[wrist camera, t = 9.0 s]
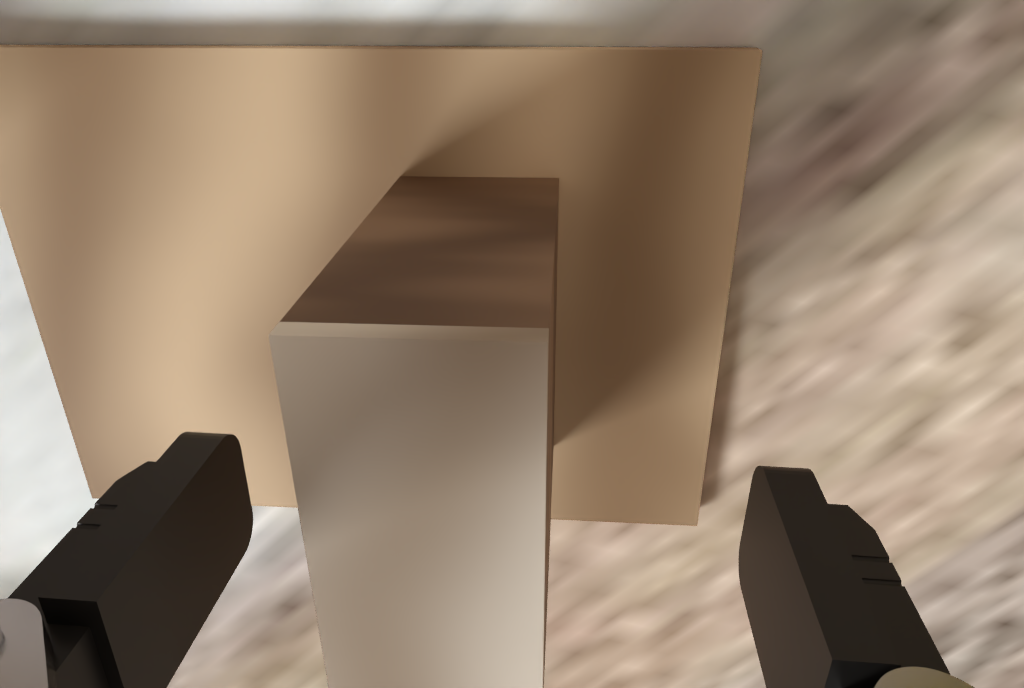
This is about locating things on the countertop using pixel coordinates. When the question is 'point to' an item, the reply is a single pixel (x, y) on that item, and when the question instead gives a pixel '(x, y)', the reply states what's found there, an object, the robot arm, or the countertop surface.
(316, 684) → the countertop surface
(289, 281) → the wooden board
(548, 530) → the brown wooden block
